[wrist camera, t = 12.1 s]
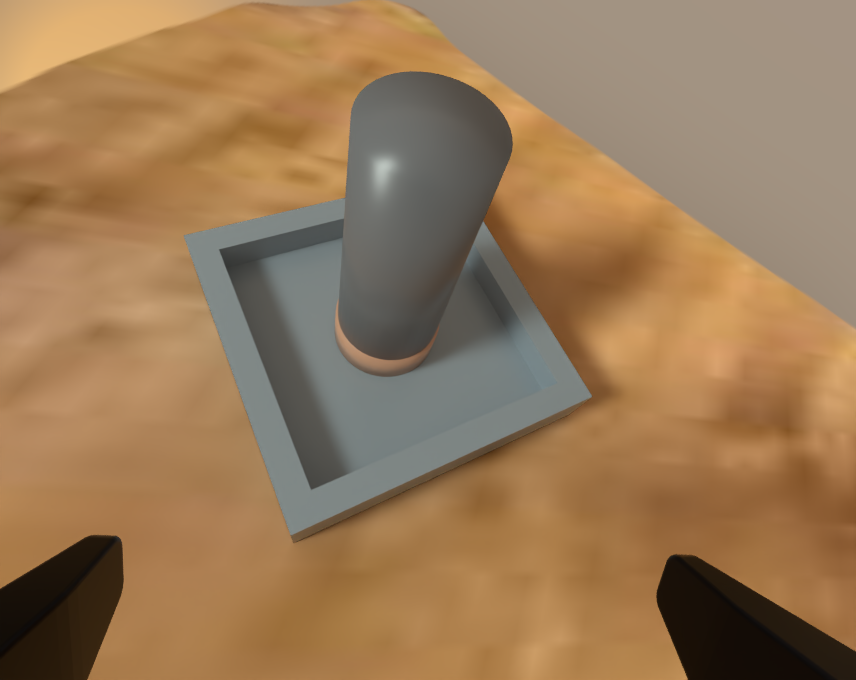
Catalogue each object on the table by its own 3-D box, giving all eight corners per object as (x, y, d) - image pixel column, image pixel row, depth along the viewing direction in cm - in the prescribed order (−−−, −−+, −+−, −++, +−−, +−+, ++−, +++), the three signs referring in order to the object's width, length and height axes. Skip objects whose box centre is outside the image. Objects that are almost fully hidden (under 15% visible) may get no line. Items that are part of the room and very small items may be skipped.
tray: (568, 414, 26) (592, 396, 23) (293, 543, 21) (290, 535, 18) (443, 203, 30) (452, 172, 28) (194, 267, 25) (183, 235, 23)
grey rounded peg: (449, 319, 26) (540, 119, 15) (403, 395, 23) (473, 221, 13) (367, 273, 26) (400, 47, 15) (314, 344, 24) (311, 134, 13)
